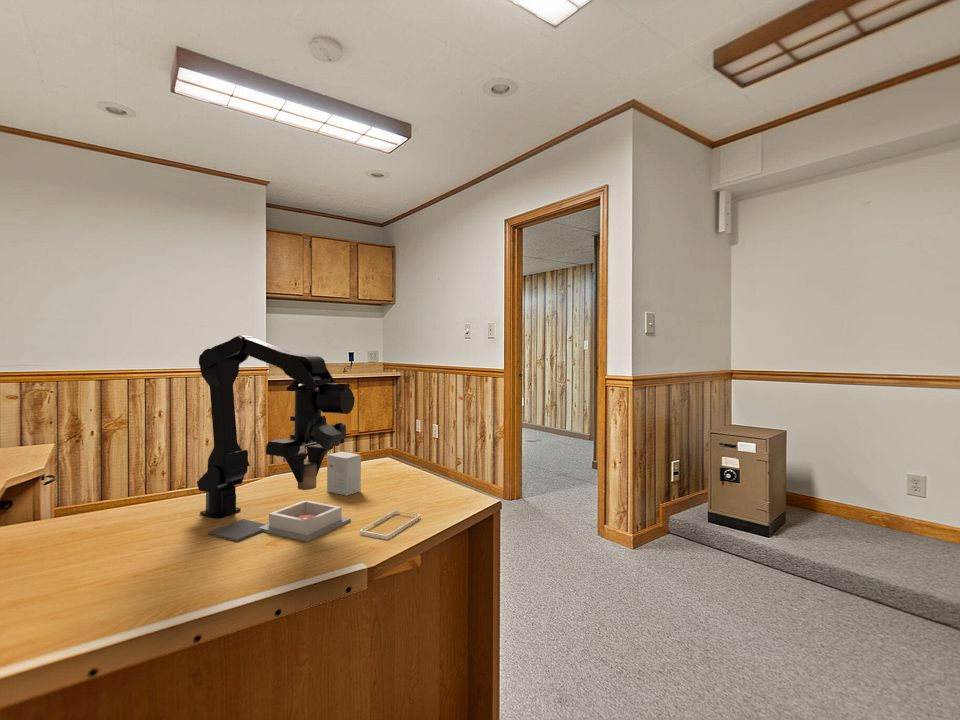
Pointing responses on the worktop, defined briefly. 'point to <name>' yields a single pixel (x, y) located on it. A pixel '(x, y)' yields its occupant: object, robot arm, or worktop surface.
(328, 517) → the grey square tray
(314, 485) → the dowel
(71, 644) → the worktop surface
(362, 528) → the phone case
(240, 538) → the pad
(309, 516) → the button
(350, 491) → the small box
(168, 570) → the worktop surface
